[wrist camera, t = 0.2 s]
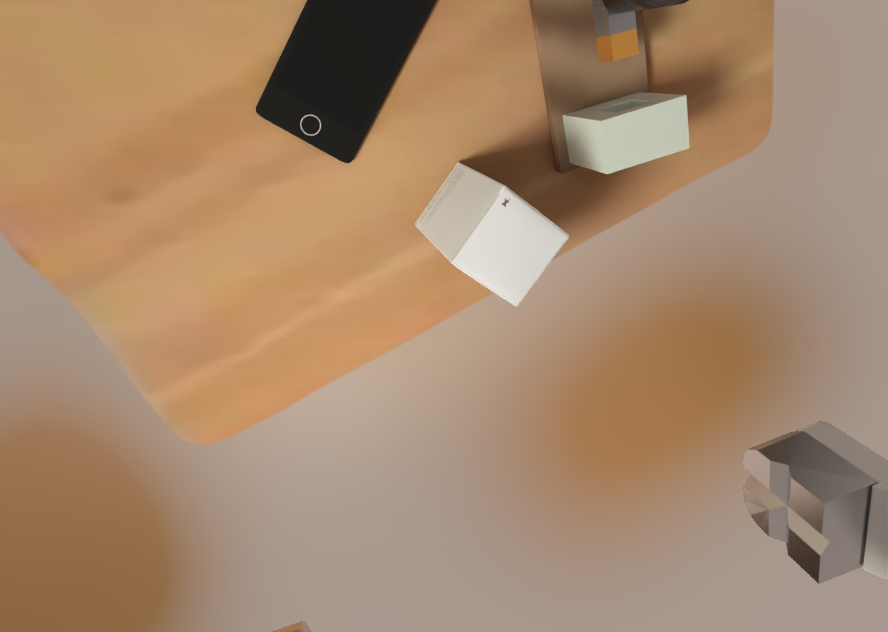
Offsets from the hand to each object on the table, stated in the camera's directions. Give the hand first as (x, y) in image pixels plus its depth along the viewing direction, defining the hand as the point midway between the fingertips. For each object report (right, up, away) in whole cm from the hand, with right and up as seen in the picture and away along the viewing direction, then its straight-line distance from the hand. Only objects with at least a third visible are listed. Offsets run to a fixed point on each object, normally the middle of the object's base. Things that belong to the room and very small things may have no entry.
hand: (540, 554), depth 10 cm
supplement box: (0, +14, +48) cm, 50 cm away
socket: (+14, +22, +47) cm, 54 cm away
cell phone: (-9, +27, +40) cm, 49 cm away
